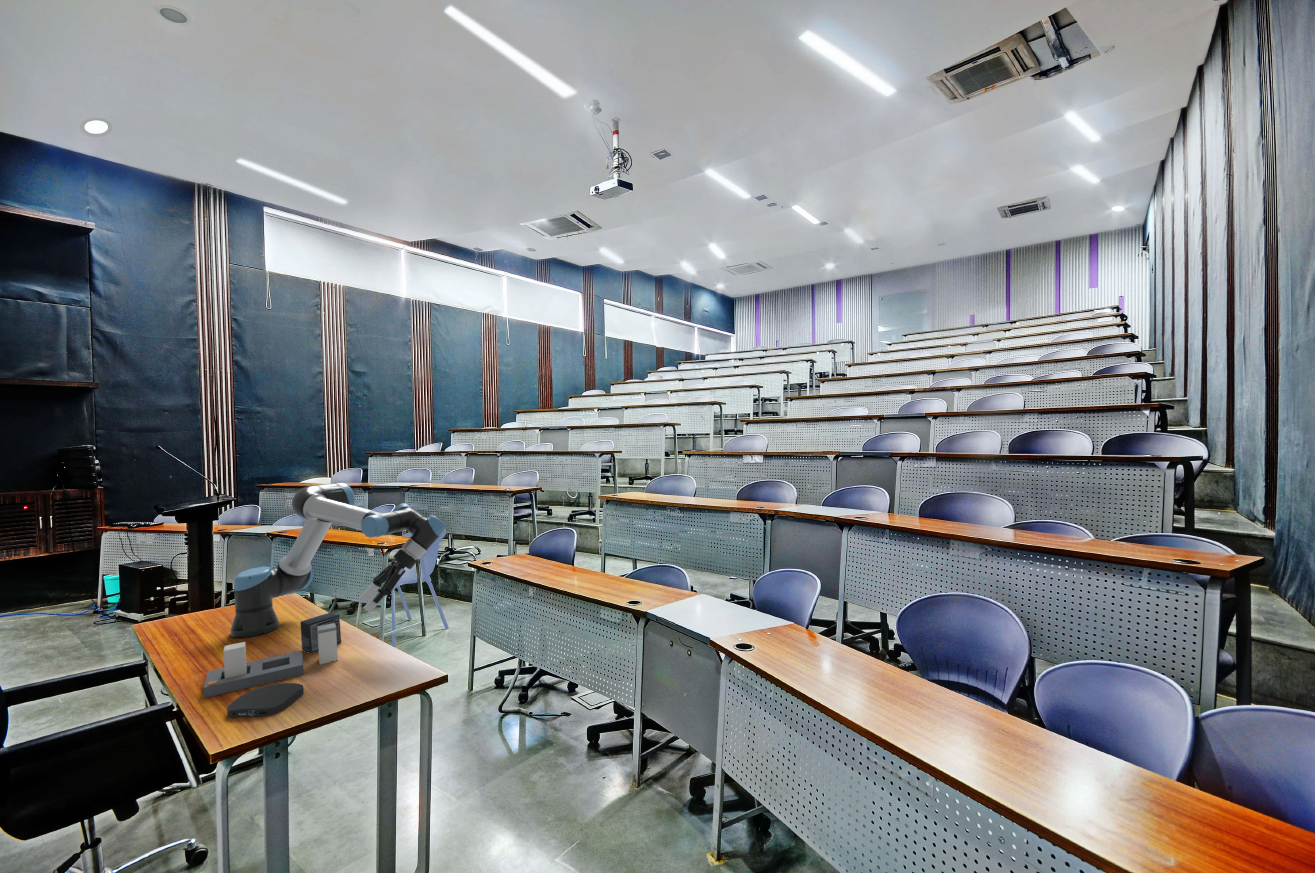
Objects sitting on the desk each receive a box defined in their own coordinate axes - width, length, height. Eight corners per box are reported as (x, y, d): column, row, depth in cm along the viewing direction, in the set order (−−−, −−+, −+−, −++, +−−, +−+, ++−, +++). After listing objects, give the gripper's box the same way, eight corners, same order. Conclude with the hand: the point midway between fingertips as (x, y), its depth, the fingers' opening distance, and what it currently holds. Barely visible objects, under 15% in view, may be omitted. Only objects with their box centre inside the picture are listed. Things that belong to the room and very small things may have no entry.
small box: (332, 640, 198) (330, 611, 198) (342, 643, 195) (340, 613, 195) (300, 650, 189) (299, 620, 189) (310, 654, 186) (309, 623, 185)
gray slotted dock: (209, 680, 167) (207, 644, 167) (302, 659, 181) (300, 626, 181) (203, 698, 156) (202, 659, 156) (303, 674, 169) (302, 638, 169)
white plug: (318, 659, 181) (317, 626, 181) (336, 655, 184) (334, 622, 183) (319, 664, 177) (318, 630, 176) (337, 660, 179) (336, 626, 179)
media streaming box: (309, 690, 159) (309, 680, 159) (276, 717, 144) (276, 705, 144) (258, 693, 158) (258, 683, 158) (220, 720, 144) (219, 708, 144)
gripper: (425, 566, 186) (378, 620, 177) (410, 554, 206) (368, 602, 198) (407, 553, 183) (359, 608, 174) (394, 542, 203) (350, 591, 195)
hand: (364, 605), depth 186 cm, fingers open, 13 cm apart
